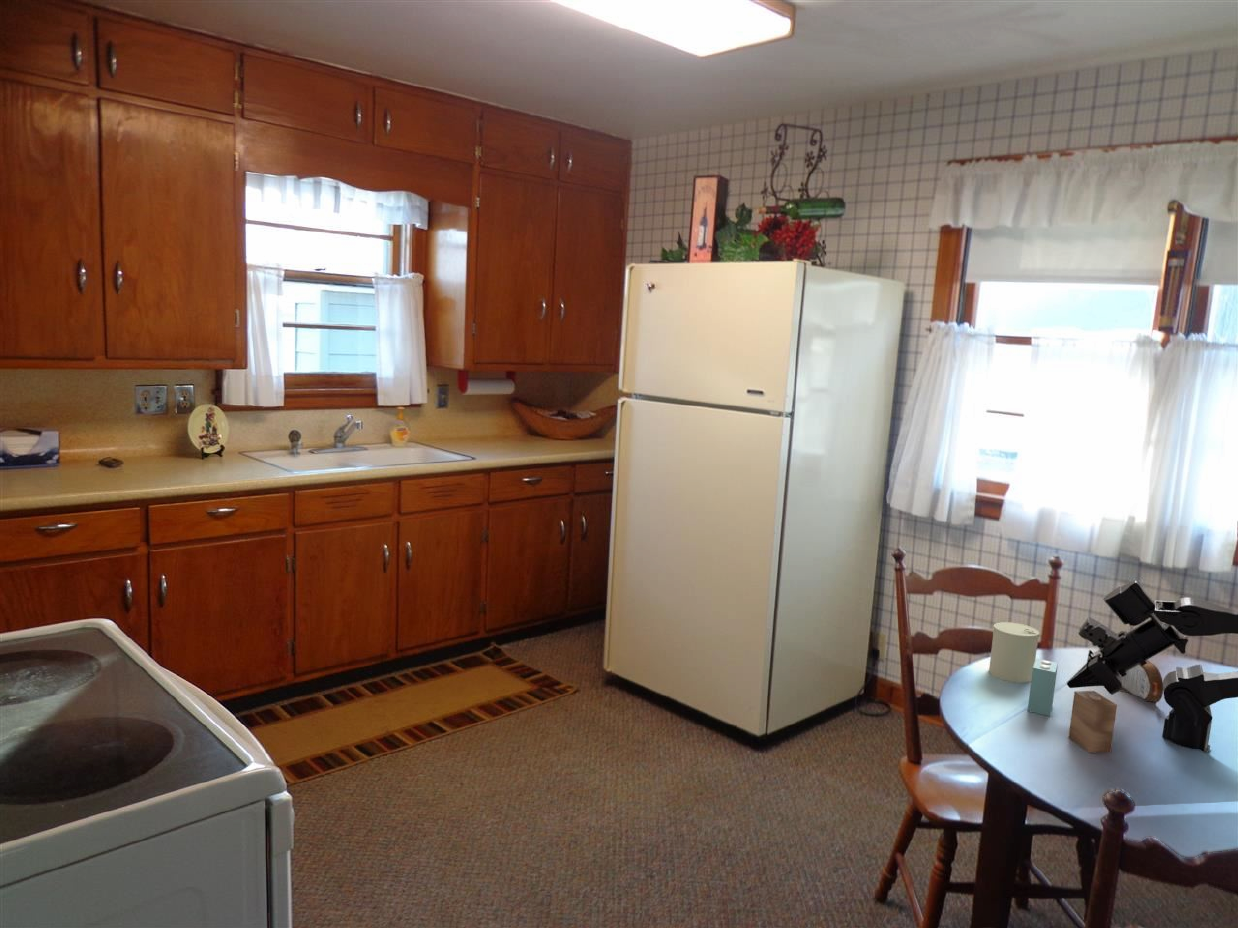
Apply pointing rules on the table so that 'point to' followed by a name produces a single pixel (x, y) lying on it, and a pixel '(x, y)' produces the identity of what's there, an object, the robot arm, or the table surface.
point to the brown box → (1092, 721)
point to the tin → (1144, 682)
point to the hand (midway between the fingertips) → (1068, 685)
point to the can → (1013, 651)
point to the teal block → (1042, 687)
